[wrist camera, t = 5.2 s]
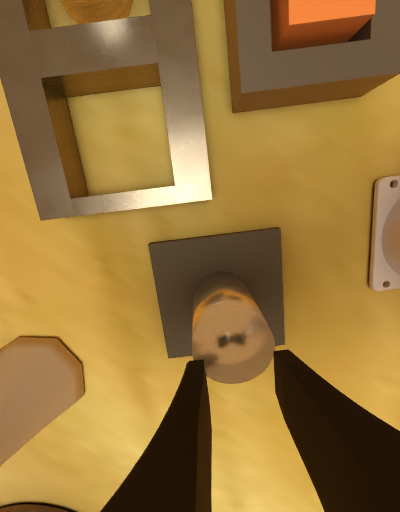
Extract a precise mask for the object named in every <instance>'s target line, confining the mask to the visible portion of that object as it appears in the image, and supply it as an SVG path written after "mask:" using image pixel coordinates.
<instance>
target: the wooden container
mask: <svg viewBox="0 0 400 512" xmlns="http://www.w3.org/2000/svg"><path fill="white" fill-rule="evenodd" d="M0 512H70V511H67V510H64V509H61V508H57V507H52V506H47V505H38V504H20V505H12V506H7V507H3V508H0Z"/></svg>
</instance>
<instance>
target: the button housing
mask: <svg viewBox="0 0 400 512" xmlns="http://www.w3.org/2000/svg"><path fill="white" fill-rule="evenodd" d="M224 8H225V21H226V34H227V46H228V59H229V72H230V85H231V98H232V111H233V113H236V112H244V111H252V110H260V109H267V108H275V107H283V106H291V105H299V104H307V103H314V102H322V101H330V100H338V99H346V98H354V97H361V96H363V95H364V94H366V93H368V92H369V91H371V90H373V89H375V88H376V87H378V86H380V85H381V84H383V83H385V82H386V81H388V80H390V79H391V78H393V77H395V76H396V75H398V74H400V0H376V5H375V14H374V15H373V16H372V17H371V18H370V19H369V20H368V21H367V22H366V23H365V24H364V25H363V26H362V27H361V28H360V29H359V30H358V31H357V32H356V33H355V34H354V35H353V36H352V37H351V38H350V39H349V40H348V42H345V43H338V44H330V45H322V46H315V47H307V48H299V49H291V50H284V51H276V52H272V43H271V17H270V0H224Z"/></svg>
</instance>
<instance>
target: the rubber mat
mask: <svg viewBox="0 0 400 512" xmlns="http://www.w3.org/2000/svg"><path fill="white" fill-rule="evenodd" d="M148 245H149V251H150V257H151V262H152V268H153V274H154V279H155V285H156V291H157V296H158V302H159V308H160V313H161V319H162V325H163V330H164V336H165V342H166V347H167V353H168V358H176V357H184V356H193V354H192V328H193V293H194V290H195V287H196V285H197V284H198V282H199V281H200V280H201V279H202V278H203V277H205V276H206V275H208V274H210V273H213V272H218V271H225V272H230V273H233V274H235V275H237V276H238V277H239V278H240V279H242V281H243V282H244V283H245V285H246V287H247V288H248V290H249V292H250V294H251V296H252V297H253V299H254V301H255V303H256V304H257V306H258V308H259V310H260V312H261V313H262V315H263V317H264V319H265V321H266V322H267V324H268V326H269V328H270V329H271V331H272V334H273V336H274V341H275V346H278V345H285V335H284V309H283V282H282V256H281V230H280V228H278V227H275V228H267V229H259V230H251V231H243V232H235V233H226V234H218V235H210V236H202V237H194V238H186V239H177V240H169V241H161V242H153V243H149V244H148Z"/></svg>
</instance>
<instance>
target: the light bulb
mask: <svg viewBox="0 0 400 512" xmlns="http://www.w3.org/2000/svg"><path fill="white" fill-rule="evenodd" d="M60 1H61V3H62V4H63V5H64V7H65V8H66V10H67V11H68V13H69V14H70V16H71V17H72V18H73V19H74V20H75V21H76V22H77V23H78V24H87V23H94V22H102V21H109V20H117V19H124V18H127V16H128V14H129V12H130V9H131V5H132V0H60Z"/></svg>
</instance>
